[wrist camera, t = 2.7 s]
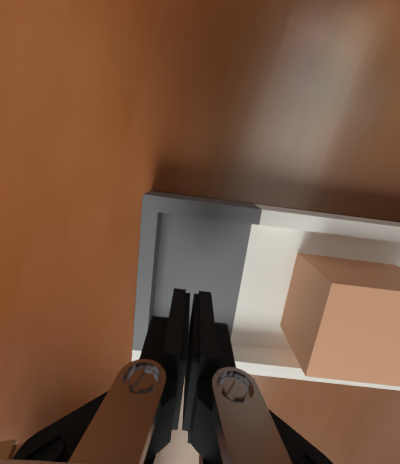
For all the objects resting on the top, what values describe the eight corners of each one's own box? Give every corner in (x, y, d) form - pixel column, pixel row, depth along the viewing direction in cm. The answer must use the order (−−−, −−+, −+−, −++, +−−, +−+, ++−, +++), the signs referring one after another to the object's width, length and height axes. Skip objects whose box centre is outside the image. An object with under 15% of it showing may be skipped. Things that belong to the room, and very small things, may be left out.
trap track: (643, 253, 15) (708, 266, 13) (562, 385, 17) (607, 413, 15) (151, 190, 14) (142, 194, 12) (139, 338, 17) (131, 361, 15)
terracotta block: (395, 264, 15) (464, 299, 11) (370, 335, 16) (424, 389, 12) (297, 252, 15) (331, 283, 11) (279, 325, 16) (305, 376, 12)
